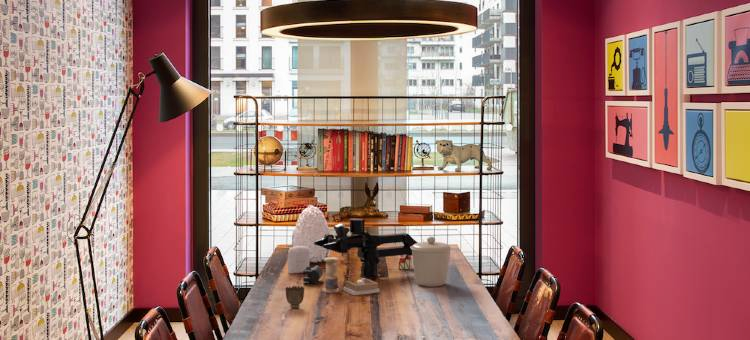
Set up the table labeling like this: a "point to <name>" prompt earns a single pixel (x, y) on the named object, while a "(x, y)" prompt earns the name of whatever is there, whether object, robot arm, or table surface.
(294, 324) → the table surface
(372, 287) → the cream cradle stand
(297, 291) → the cup
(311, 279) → the end cap
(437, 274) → the canister
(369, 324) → the table surface
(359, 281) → the reel lid
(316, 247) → the rice ball
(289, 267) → the photo printer
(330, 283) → the bobbin
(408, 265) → the toy house
